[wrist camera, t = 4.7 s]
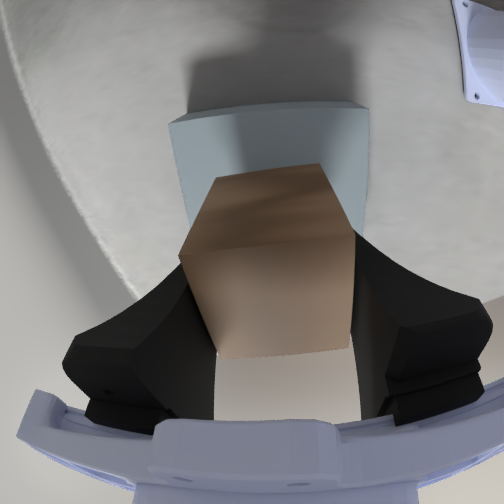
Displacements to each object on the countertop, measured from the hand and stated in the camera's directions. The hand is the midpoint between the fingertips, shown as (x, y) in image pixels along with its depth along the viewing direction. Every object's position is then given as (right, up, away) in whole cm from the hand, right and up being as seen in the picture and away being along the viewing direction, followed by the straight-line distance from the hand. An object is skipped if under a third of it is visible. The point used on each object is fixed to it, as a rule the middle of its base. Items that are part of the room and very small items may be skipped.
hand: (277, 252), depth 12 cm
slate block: (+1, +5, +7) cm, 9 cm away
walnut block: (0, +2, +2) cm, 2 cm away
